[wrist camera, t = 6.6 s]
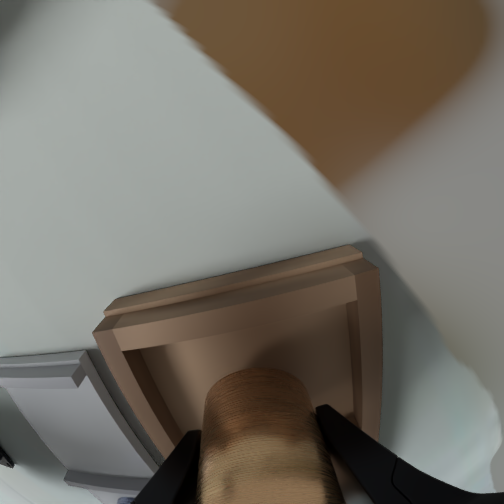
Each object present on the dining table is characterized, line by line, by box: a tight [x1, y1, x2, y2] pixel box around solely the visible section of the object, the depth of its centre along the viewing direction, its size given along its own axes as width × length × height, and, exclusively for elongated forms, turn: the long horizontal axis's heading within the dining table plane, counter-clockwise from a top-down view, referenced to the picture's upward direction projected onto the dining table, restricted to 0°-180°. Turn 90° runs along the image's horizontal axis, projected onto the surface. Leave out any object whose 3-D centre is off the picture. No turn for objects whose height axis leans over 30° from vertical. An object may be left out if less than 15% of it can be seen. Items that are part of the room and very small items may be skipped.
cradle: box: [0, 350, 159, 504], centre depth 12 cm, size 7×18×2 cm, turn 13°
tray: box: [92, 245, 383, 503], centre depth 11 cm, size 9×16×2 cm, turn 13°
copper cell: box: [195, 367, 346, 504], centre depth 6 cm, size 4×4×7 cm
